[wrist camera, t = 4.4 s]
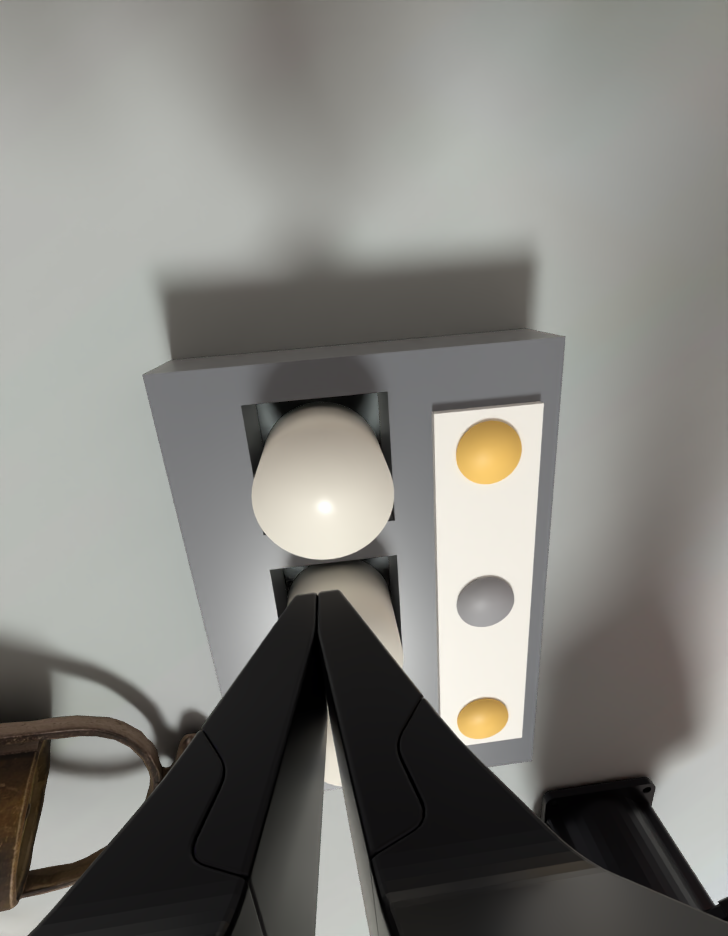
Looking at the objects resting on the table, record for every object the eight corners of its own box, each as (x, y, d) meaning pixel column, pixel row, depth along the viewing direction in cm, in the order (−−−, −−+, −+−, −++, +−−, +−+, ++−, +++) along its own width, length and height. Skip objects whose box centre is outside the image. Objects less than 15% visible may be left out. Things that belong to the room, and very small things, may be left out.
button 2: (375, 396, 16) (390, 422, 13) (383, 504, 17) (397, 551, 14) (255, 407, 16) (239, 438, 12) (272, 516, 17) (263, 567, 14)
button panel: (526, 328, 18) (565, 336, 15) (507, 707, 25) (531, 760, 22) (171, 359, 17) (142, 374, 14) (255, 741, 24) (247, 802, 21)
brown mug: (-137, 721, 15) (-292, 976, 15) (223, 870, 17) (81, 1087, 18) (3, 619, 22) (-106, 795, 22) (244, 735, 24) (143, 892, 25)
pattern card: (539, 401, 16) (545, 404, 15) (519, 731, 21) (522, 739, 21) (431, 411, 15) (434, 414, 15) (439, 743, 21) (441, 750, 20)
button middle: (386, 551, 18) (400, 606, 15) (391, 635, 19) (406, 701, 16) (280, 563, 18) (273, 622, 15) (294, 647, 19) (290, 716, 16)
